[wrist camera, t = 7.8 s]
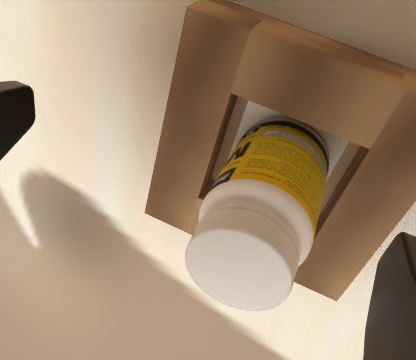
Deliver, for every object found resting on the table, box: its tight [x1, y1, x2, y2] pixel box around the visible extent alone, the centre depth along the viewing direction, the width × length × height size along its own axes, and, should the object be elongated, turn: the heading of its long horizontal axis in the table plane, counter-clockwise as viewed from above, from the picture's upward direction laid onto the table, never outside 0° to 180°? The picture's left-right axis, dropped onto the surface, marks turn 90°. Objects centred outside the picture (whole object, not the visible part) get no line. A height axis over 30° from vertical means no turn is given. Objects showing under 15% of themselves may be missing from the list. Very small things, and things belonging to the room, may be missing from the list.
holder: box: [145, 0, 416, 301], centre depth 20 cm, size 12×12×3 cm
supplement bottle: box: [185, 118, 329, 311], centre depth 17 cm, size 5×5×8 cm
